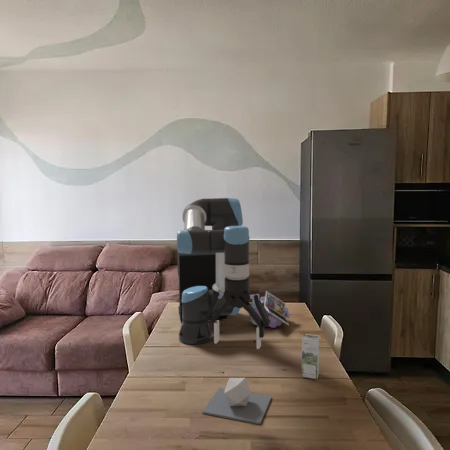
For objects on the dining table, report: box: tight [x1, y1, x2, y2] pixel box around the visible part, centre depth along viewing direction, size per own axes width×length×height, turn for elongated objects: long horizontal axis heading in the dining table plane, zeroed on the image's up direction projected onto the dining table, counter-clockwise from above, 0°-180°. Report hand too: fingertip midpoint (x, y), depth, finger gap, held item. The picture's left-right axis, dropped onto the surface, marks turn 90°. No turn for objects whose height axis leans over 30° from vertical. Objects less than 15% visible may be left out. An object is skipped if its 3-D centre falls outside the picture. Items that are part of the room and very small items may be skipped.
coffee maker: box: [176, 251, 228, 323], centre depth 208 cm, size 28×20×35 cm
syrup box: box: [301, 333, 320, 380], centre depth 140 cm, size 6×6×14 cm
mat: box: [201, 387, 272, 425], centre depth 122 cm, size 18×15×1 cm
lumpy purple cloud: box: [249, 290, 292, 329], centre depth 195 cm, size 20×22×18 cm
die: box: [224, 377, 252, 406], centre depth 121 cm, size 8×9×10 cm
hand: (237, 344), depth 120 cm, fingers open, 13 cm apart
